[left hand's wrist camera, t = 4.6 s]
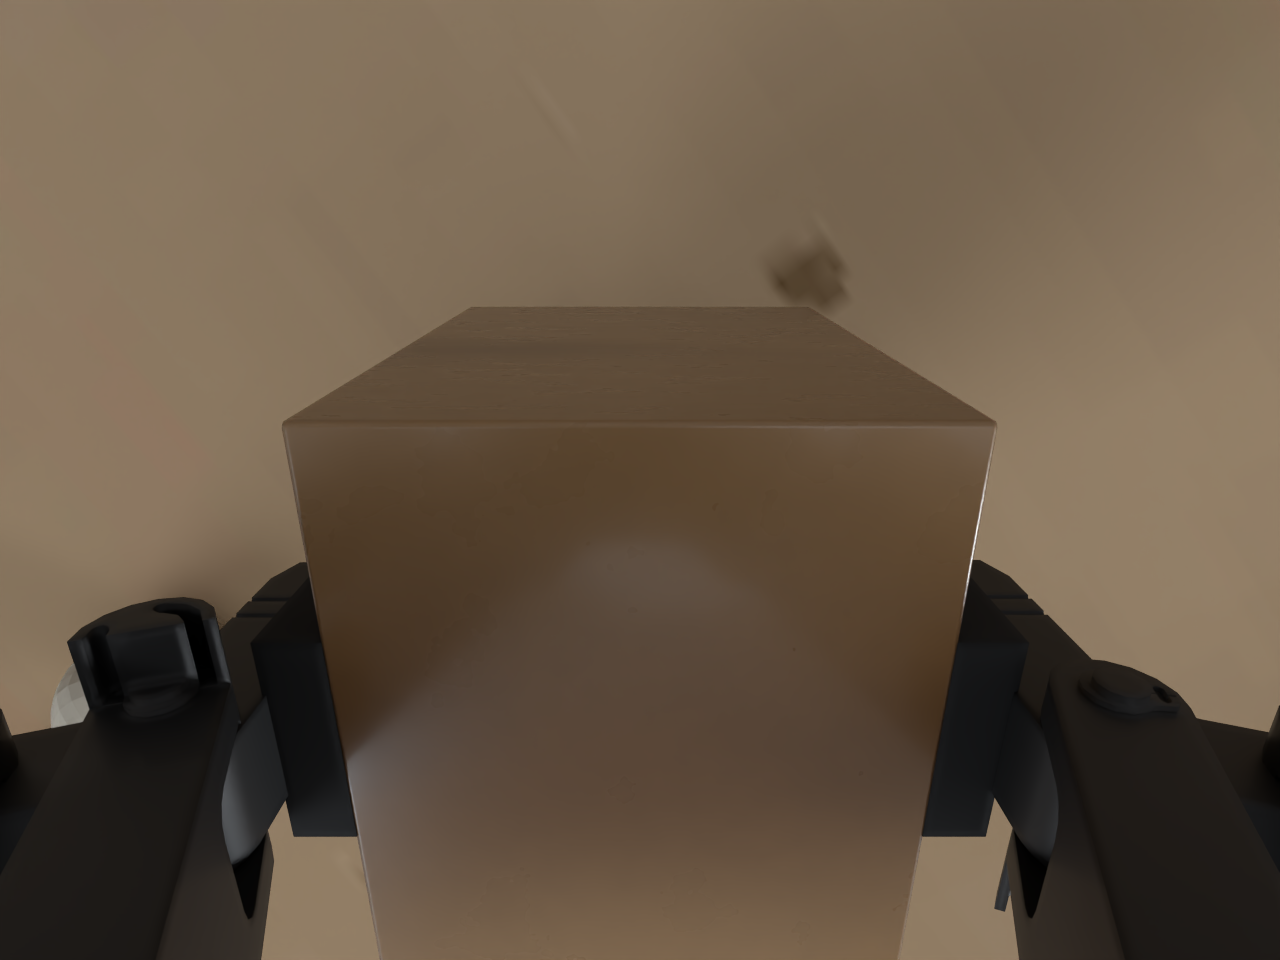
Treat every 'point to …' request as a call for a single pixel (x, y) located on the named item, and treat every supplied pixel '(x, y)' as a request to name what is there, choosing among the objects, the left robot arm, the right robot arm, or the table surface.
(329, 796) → the left robot arm
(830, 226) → the table surface
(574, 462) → the brown cube
